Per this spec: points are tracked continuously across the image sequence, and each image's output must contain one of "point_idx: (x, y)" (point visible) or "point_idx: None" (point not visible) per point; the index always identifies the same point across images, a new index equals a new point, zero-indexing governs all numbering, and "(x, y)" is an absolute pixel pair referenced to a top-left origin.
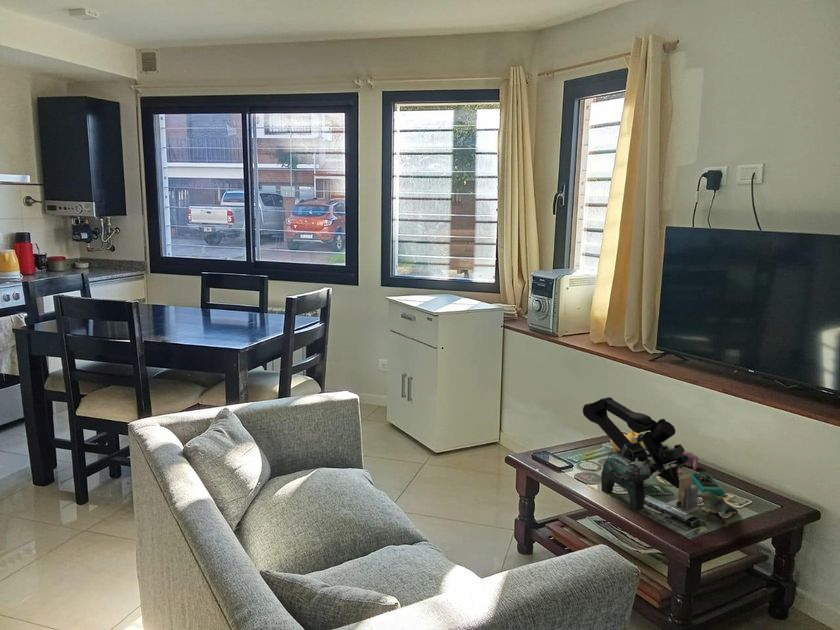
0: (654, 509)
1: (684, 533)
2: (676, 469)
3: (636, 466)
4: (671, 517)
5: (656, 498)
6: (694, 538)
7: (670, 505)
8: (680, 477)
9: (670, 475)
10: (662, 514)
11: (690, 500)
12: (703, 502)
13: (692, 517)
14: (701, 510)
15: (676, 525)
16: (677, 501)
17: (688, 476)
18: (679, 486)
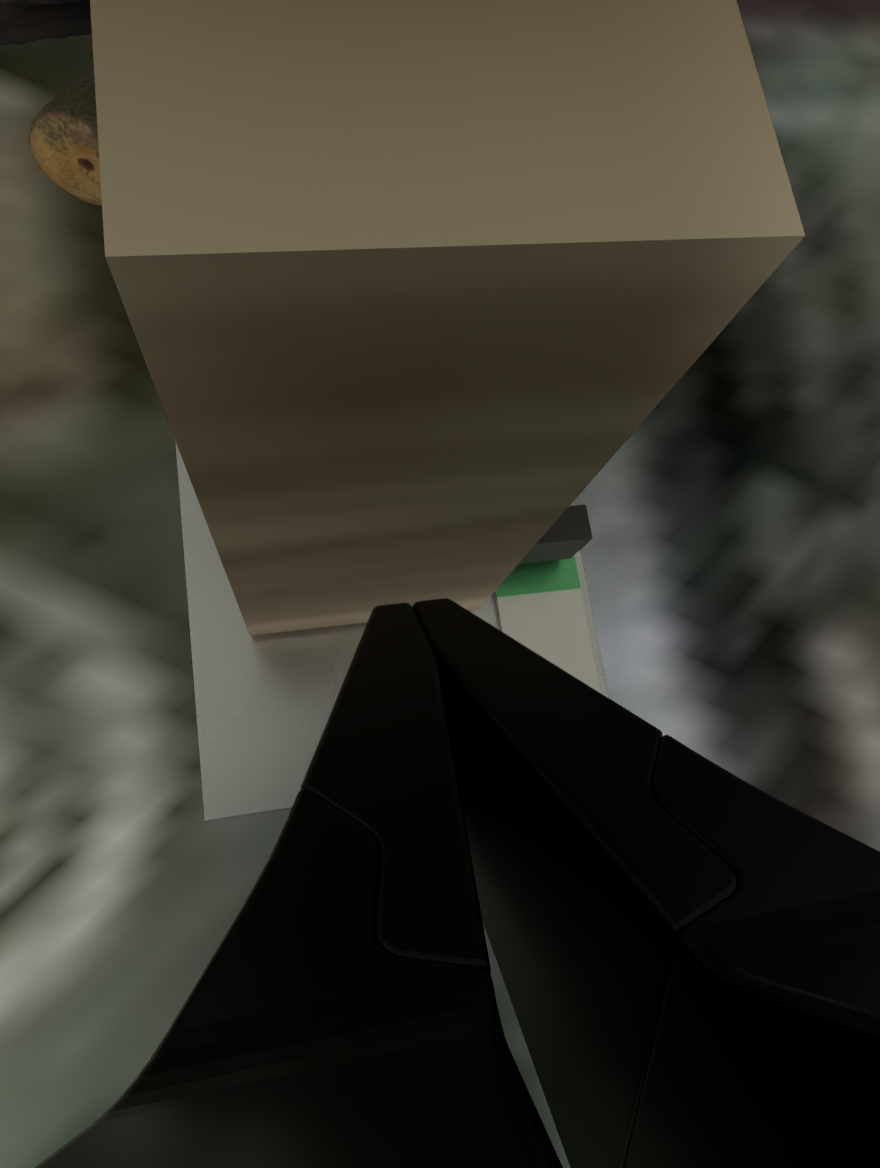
0: (853, 757)
1: (870, 115)
2: (313, 1119)
3: None
4: (765, 450)
5: (546, 1119)
6: (834, 5)
7: (599, 668)
8: (789, 203)
9: (862, 886)
10: (833, 574)
11: None
12: None
13: None
14: (148, 392)
15: (842, 274)
16: None
17: (279, 59)
18: (604, 448)
